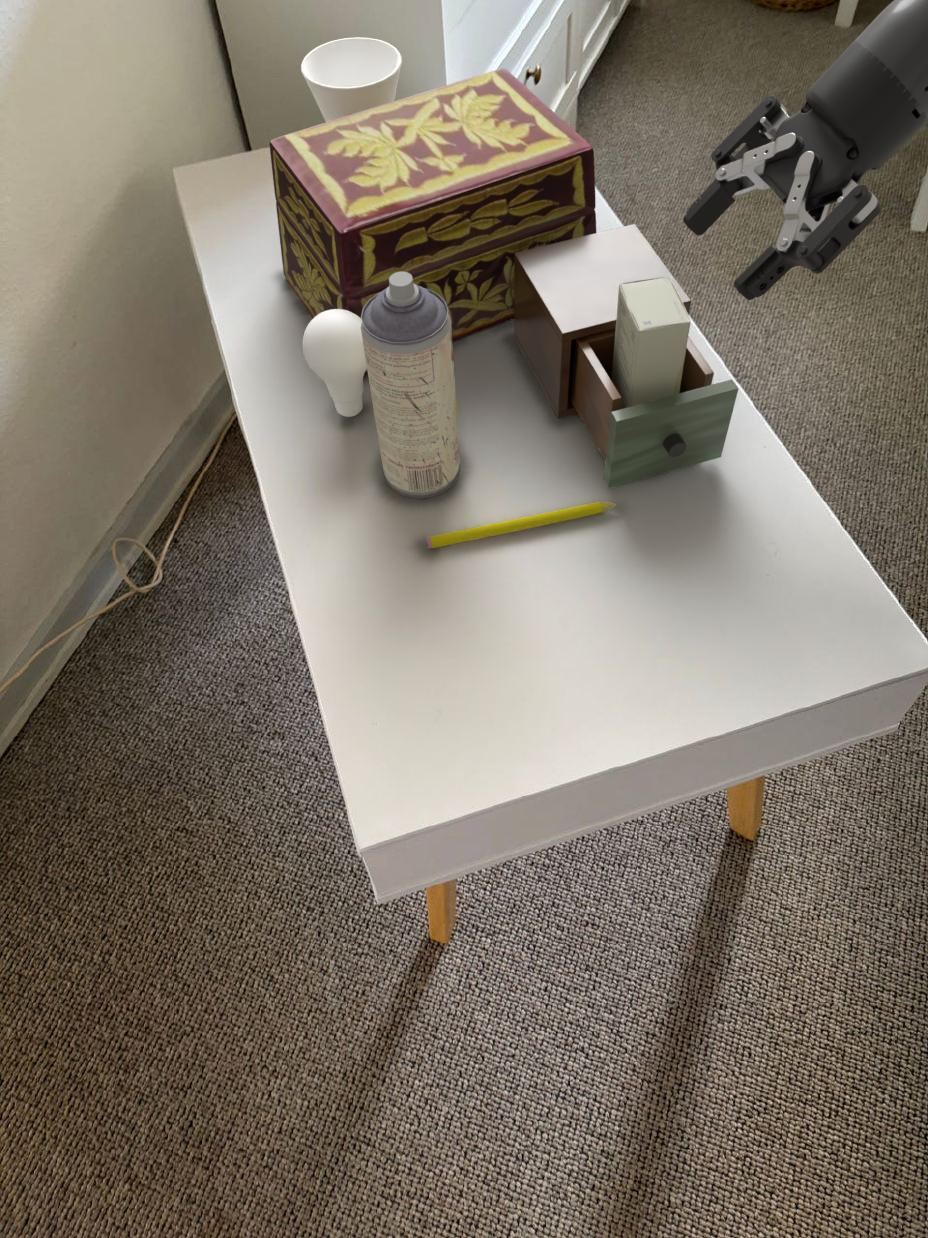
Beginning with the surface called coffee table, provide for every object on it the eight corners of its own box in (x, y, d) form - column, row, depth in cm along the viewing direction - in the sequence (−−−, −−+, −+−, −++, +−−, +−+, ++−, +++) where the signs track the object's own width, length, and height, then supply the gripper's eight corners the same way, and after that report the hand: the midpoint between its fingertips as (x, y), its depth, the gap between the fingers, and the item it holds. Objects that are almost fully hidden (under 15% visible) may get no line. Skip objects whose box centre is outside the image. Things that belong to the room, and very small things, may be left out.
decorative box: (353, 380, 94) (329, 243, 81) (282, 275, 103) (251, 137, 91) (599, 287, 100) (611, 147, 88) (510, 196, 110) (511, 58, 97)
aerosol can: (476, 471, 87) (467, 279, 70) (415, 511, 84) (392, 323, 68) (427, 430, 90) (408, 237, 73) (368, 467, 87) (334, 277, 71)
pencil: (429, 551, 82) (428, 544, 81) (426, 542, 82) (425, 534, 81) (618, 511, 83) (619, 504, 82) (615, 503, 84) (616, 495, 83)
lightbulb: (368, 382, 94) (353, 285, 84) (393, 422, 90) (380, 326, 81) (308, 403, 92) (286, 307, 83) (331, 445, 89) (311, 349, 80)
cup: (315, 166, 115) (293, 45, 103) (402, 151, 116) (390, 30, 105) (329, 217, 109) (308, 95, 98) (421, 200, 110) (411, 78, 99)
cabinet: (675, 387, 92) (691, 300, 83) (557, 419, 90) (562, 333, 82) (624, 310, 98) (634, 223, 90) (513, 339, 96) (514, 252, 88)
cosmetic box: (673, 437, 85) (695, 324, 75) (623, 444, 85) (638, 332, 75) (654, 388, 89) (672, 273, 79) (605, 395, 88) (618, 281, 78)
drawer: (727, 466, 84) (745, 398, 78) (614, 499, 83) (622, 432, 76) (669, 378, 91) (681, 308, 84) (562, 407, 89) (566, 338, 83)
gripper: (816, -2, 69) (647, 186, 76) (934, 97, 61) (733, 294, 69) (861, 61, 74) (699, 231, 82) (975, 159, 66) (783, 336, 74)
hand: (714, 260), depth 75 cm, fingers open, 8 cm apart
